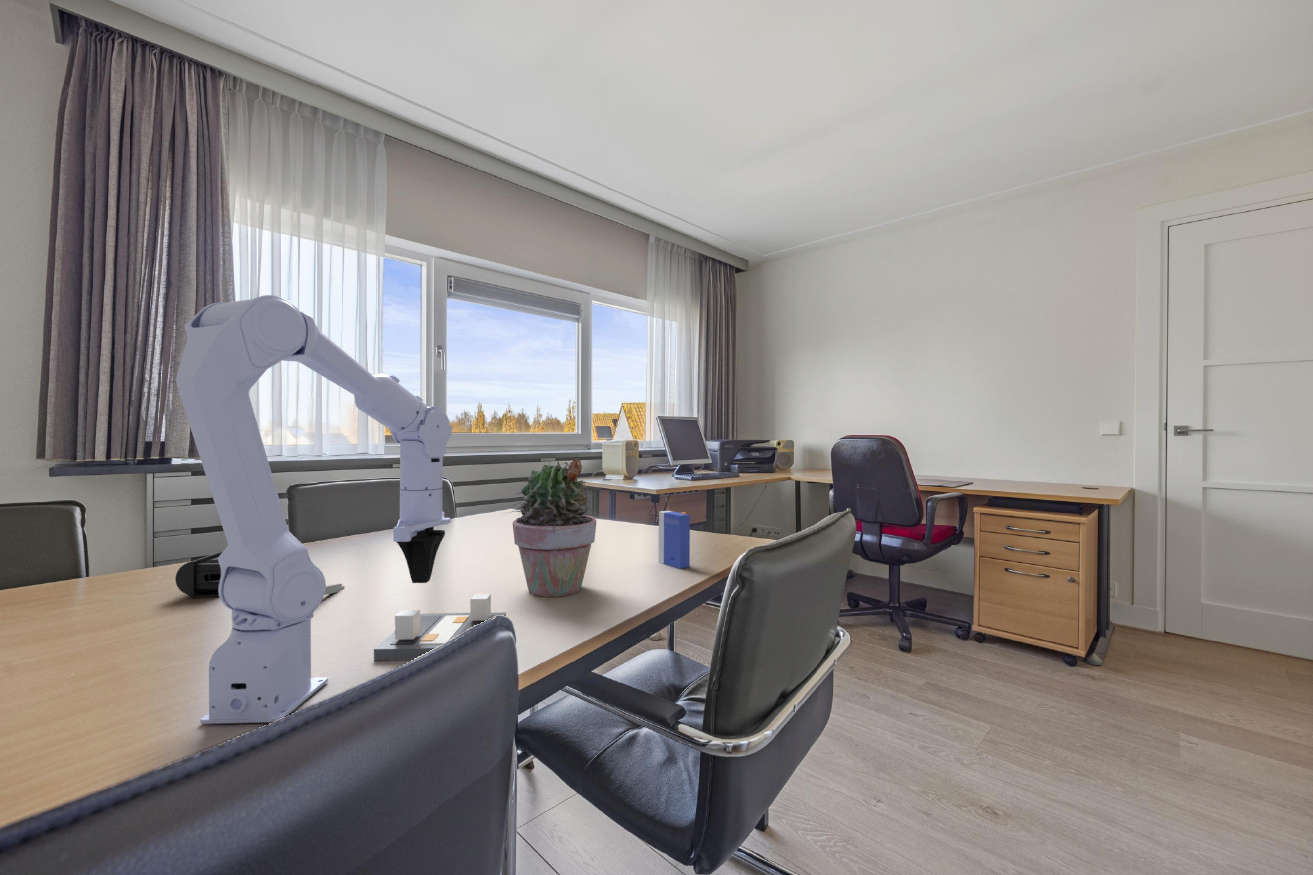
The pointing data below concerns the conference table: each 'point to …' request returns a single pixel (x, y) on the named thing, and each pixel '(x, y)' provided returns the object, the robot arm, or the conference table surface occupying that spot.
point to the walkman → (674, 539)
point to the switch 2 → (480, 607)
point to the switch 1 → (407, 624)
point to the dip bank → (426, 636)
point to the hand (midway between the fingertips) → (421, 581)
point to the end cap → (200, 577)
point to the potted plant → (554, 531)
